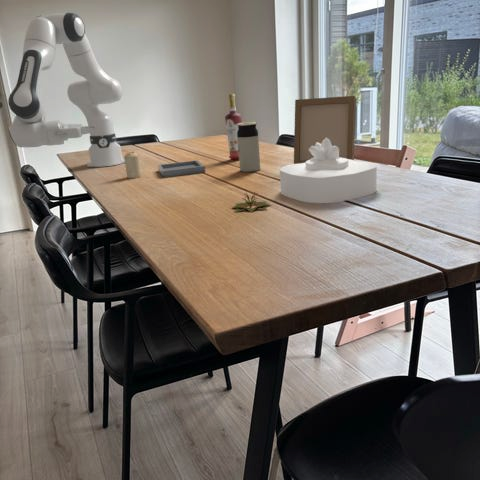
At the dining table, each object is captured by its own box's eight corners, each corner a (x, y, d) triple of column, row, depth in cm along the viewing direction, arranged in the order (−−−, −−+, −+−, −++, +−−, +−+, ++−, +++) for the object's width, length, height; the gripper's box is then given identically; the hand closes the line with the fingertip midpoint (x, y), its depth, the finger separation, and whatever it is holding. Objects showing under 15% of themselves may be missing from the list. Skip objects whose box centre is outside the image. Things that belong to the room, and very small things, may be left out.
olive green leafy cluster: (230, 204, 136) (229, 189, 134) (271, 201, 135) (270, 186, 133) (228, 216, 124) (227, 199, 123) (273, 213, 124) (272, 196, 122)
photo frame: (351, 168, 168) (351, 96, 161) (293, 168, 177) (291, 100, 169) (358, 161, 181) (358, 94, 174) (303, 162, 190) (301, 98, 182)
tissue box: (318, 207, 125) (316, 146, 119) (270, 191, 146) (267, 139, 141) (388, 191, 135) (390, 134, 129) (334, 178, 156) (333, 130, 151)
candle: (137, 178, 184) (134, 153, 181) (125, 178, 186) (121, 153, 182) (143, 175, 190) (139, 150, 186) (130, 175, 191) (127, 151, 187)
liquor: (248, 158, 209) (243, 93, 200) (239, 161, 204) (234, 94, 195) (234, 157, 213) (229, 94, 204) (225, 160, 208) (219, 95, 198)
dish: (158, 170, 197) (157, 164, 196) (198, 165, 200) (197, 160, 200) (162, 177, 181) (161, 171, 180) (205, 172, 185) (204, 166, 184)
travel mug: (262, 168, 184) (259, 121, 178) (257, 172, 176) (253, 123, 171) (243, 168, 186) (240, 122, 180) (237, 172, 179) (233, 124, 173)
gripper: (51, 126, 165) (92, 122, 168) (57, 122, 184) (93, 119, 187) (55, 144, 167) (95, 140, 170) (61, 138, 186) (96, 135, 189)
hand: (94, 129), depth 178 cm, fingers open, 8 cm apart
